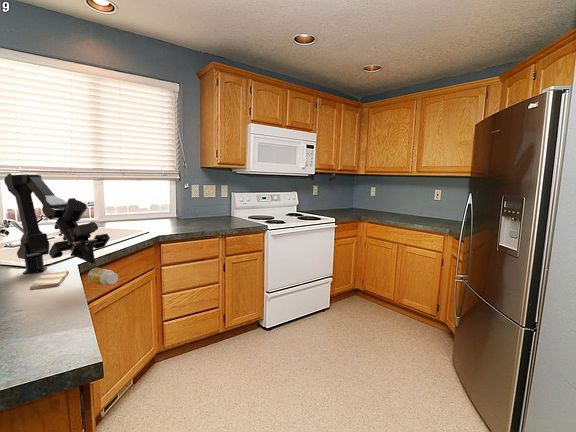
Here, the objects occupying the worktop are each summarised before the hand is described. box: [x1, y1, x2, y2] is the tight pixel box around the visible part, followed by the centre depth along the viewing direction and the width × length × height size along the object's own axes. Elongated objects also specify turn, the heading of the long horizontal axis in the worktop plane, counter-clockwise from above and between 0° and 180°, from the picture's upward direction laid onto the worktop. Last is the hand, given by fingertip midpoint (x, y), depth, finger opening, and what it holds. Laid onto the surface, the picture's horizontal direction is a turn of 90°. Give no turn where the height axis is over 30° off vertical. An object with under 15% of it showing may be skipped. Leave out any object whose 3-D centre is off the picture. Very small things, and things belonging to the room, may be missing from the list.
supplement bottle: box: [87, 267, 119, 286], centre depth 109 cm, size 5×5×10 cm
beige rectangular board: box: [29, 270, 70, 290], centre depth 114 cm, size 16×8×1 cm, turn 25°
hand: (93, 262), depth 109 cm, fingers closed
